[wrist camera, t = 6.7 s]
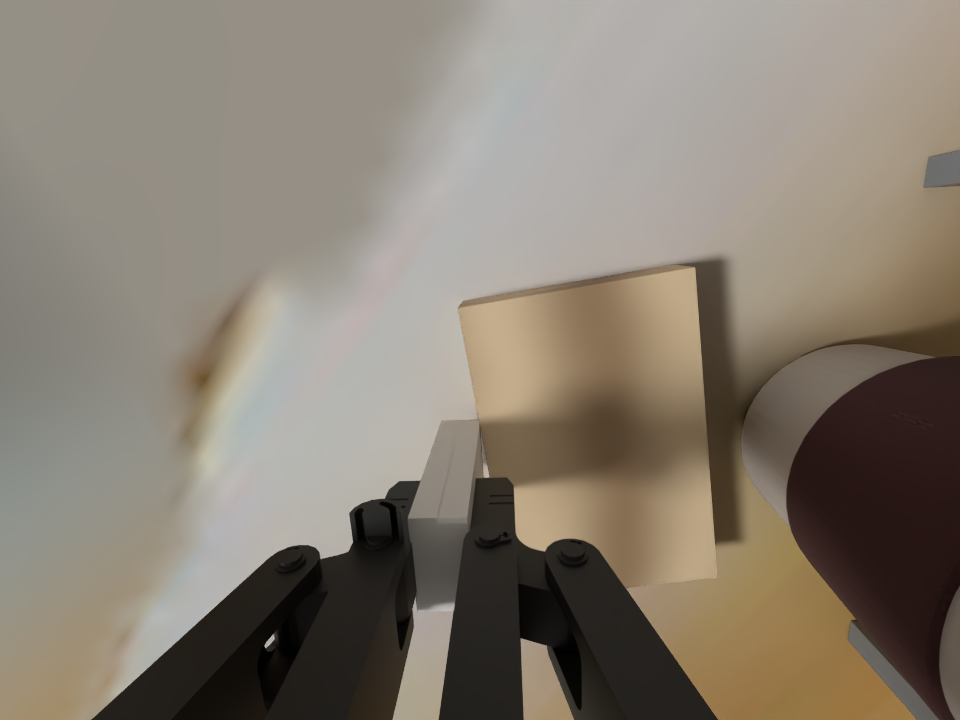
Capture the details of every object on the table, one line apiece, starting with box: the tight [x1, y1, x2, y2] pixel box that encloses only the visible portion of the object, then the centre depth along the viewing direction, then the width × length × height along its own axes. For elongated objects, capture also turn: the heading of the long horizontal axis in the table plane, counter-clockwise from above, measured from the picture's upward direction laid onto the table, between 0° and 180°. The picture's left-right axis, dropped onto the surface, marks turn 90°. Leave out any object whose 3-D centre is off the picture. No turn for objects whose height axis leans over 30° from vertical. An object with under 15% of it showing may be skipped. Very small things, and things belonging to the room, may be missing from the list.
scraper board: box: [458, 265, 717, 588], centre depth 18 cm, size 8×12×2 cm, turn 10°
